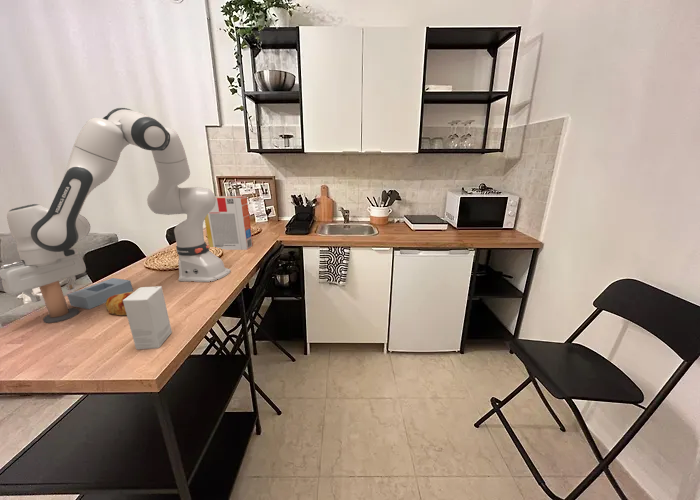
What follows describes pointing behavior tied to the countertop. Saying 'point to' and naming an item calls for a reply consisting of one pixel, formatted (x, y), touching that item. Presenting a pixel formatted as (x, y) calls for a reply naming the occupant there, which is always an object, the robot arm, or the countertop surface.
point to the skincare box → (148, 317)
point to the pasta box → (229, 224)
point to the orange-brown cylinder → (54, 299)
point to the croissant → (117, 304)
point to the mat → (57, 319)
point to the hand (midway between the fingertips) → (54, 295)
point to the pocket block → (99, 293)
